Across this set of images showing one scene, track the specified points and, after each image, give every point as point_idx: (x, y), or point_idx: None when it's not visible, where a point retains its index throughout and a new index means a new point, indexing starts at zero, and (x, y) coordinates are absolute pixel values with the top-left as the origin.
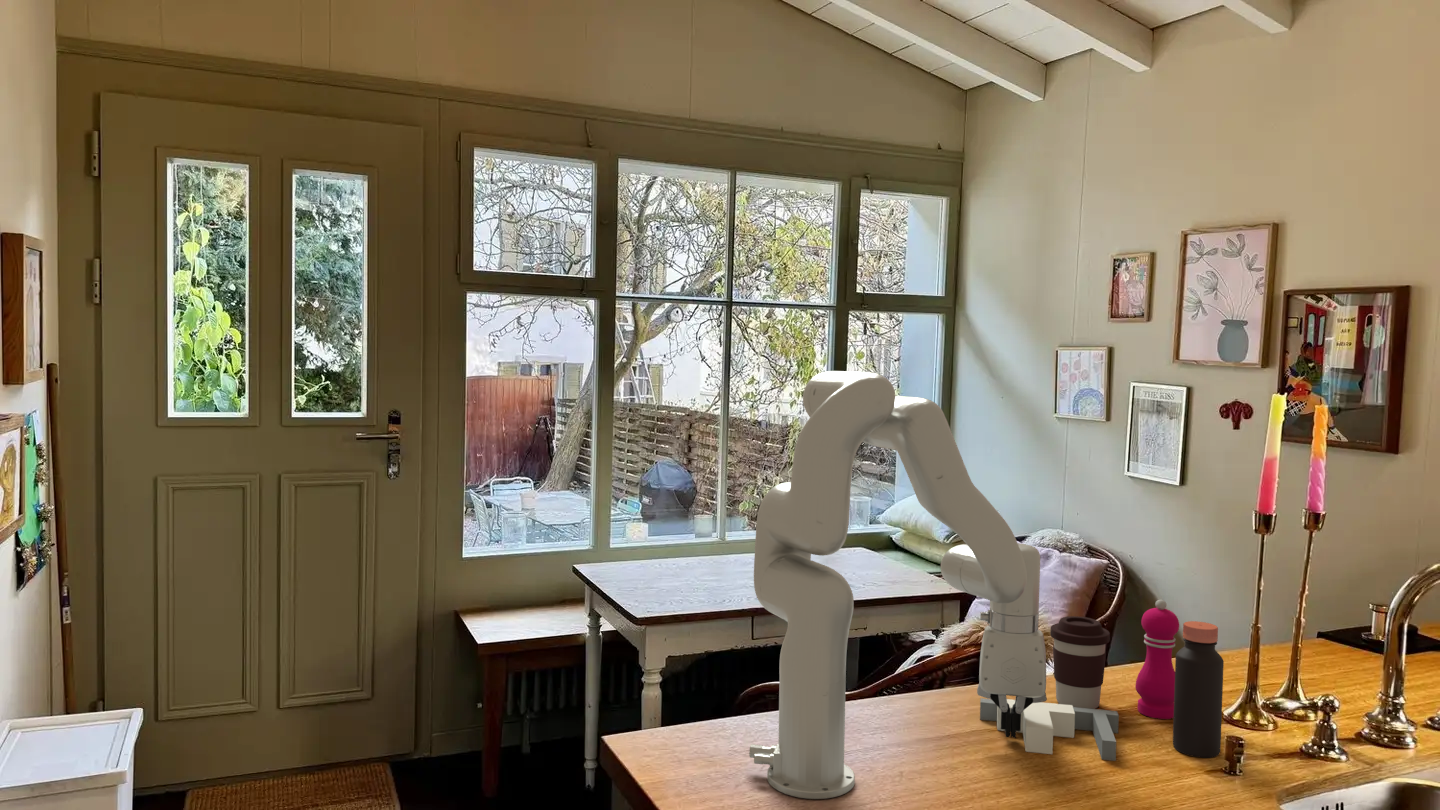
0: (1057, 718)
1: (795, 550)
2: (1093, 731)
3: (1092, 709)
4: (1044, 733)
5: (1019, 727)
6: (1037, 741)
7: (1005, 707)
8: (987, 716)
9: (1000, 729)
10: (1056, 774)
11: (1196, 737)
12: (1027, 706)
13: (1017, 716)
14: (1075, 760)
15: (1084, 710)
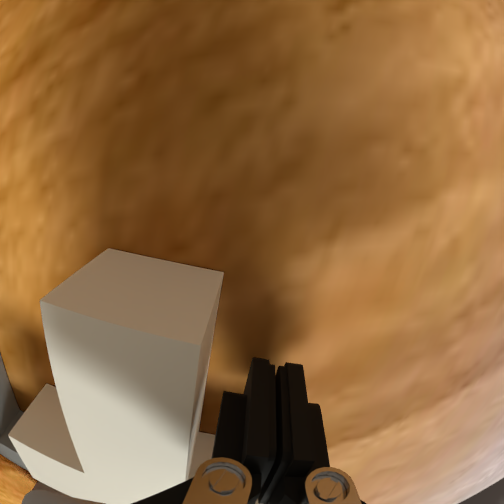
0: (65, 443)
1: None
2: (10, 398)
3: (5, 455)
4: (98, 298)
5: (228, 401)
6: (153, 284)
7: (320, 493)
8: None
9: None
10: (145, 23)
11: None
12: (160, 495)
13: (235, 449)
14: (38, 195)
15: (16, 457)
